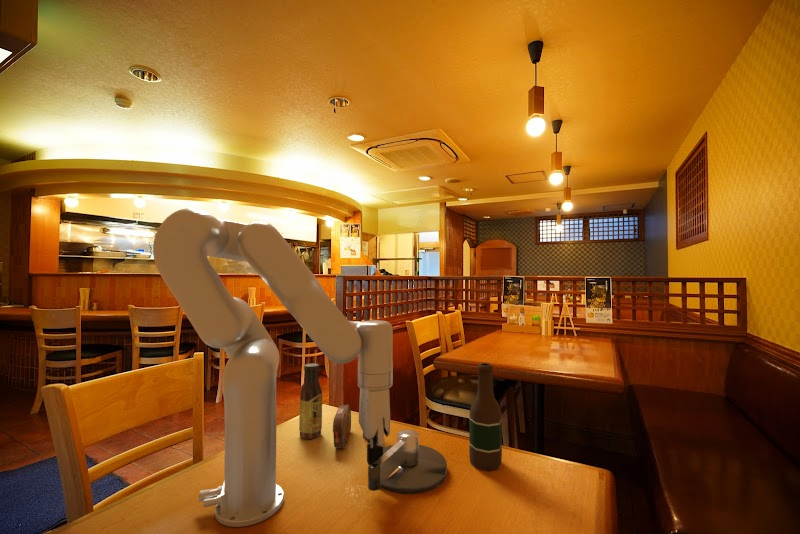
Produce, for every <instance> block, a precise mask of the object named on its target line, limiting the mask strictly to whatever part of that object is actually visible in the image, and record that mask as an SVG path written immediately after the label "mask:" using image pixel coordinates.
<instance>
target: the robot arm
mask: <svg viewBox="0 0 800 534" xmlns="http://www.w3.org/2000/svg"><path fill="white" fill-rule="evenodd" d="M152 253H153V260H154V264H155V267H156V269H157V271H158V273H159V275H160V276H161V278H162V280H163V282H164V284H165V285H166V286H167V288H168V289H169V291H170V293H171V294H172V296H173V297H174V298H175V300H176V302H177V303H178V305H179V307H180V309H181V310H182V311H183V313H184V315H185V316H186V318H187V319H188V321H189V322H190V324H191V326H192V327H193V329H194V330H195V333H196V334H197V335H198V336H199V339H201V341H202V342H203V343H204V344H205V345H206V346H209V347H210V348H213V349H223V350H224V352H225V353H226V355H227V356H228V357H229V359H228V360H227V362H226V364H225V366H224V370H223V373H222V382H221V383H222V393H223V405H224V406H223V407H224V409H223V410H224V467H223V468H224V473H223V474H224V481H223V484H222V485H218V486H217V488H209V489H202V490H199V492H198V503H202V502H203V503H202V504H203V505H202V507H203V508H207V507H212V506H215V507H214V516H215V519H216V521H218V523H220V524H222V525H223V526H227V527H234V528H239V527H242V528H243V527H248V526H253V525H256V524H259V523H261V522H263V521H265V520H267V519H269V518H271V516H272V517H273V515H274V514H276V512H278V511H279V510H280V508H281V507H282V506H283V503H284V499H285V492H284V490H283V488H282V487H281V486H280V485H278V484H277V375H278V369H279V364H280V353H279V349H278V347H277V345H276V343H275V342H274V340H273V339H272V337H271V336H270V334H269V332H268V331H267V329H266V327H265V326H264V323H262V321H261V320H260V318H259V317H258V314H257V313H256V312H255V310H254V309H253V307H252V306H251V305H250V304H249V303H248V302H246V300H243V299H242V298H239V297H235V296H233V295H232V294H231V293H230V291H229V289H228V288H227V286H226V285H225V284H224V282H223V280H222V278H221V277H220V275H219V273H218V272H217V271H216V269H215V268H214V267H213V266H212V265H211V263H210V260H209V258H208V257H210V258H211V257H212V258H219V259H224V260H225V259H227V260H232V261H239V262H246V263H248V265H250V267H251V268H252V269H253V270H254V271H255V273H257V275H258V276H259V277H260V279H262V281H263V282H264V283H265V285H267V287H268V288H269V289H270V291H272V292H273V294H274V295H275V297H276V298H277V299H278V300H279V302H280V303H281V304H282V305H283V307H284V308H285V309H286V310H287V311H288V313H289V314H290V315H291V316H292V317H293V318H294V320H295V321H296V322H297V323H298V325H300V327H301V328H302V329H303V330H304V331H305V333H306V334H307V336H308V337H309V338H310V339H311V340H312V341H313V343H314V344H315V345H316V346H317V347H318V349H319V350H320V351H321V352H322V353H323V355H324V356H325V357H326V358H327V359H328V360H329V361H331V362H333V363H335V364H339V365H341V364H342V365H343V364H349V363H350V362H353V361H354V360H355V359H356V358H357V387H358V389H359V401H358V403H359V404H358V423H359V427H360V429H361V430H362V434H363V433H364V435H365V436H366V438H367V439H366V438H365V439H366V441H367V442H366V443H367V444H366V462H367V464H368V465H367V466H369V465H370V464H373V463H374V462H376V461H377V460H378V459H379V458H380V457H381V456H382V455H383V448H384V446H385V437H389V436H390V433H391V406H390V404H391V403H390V400H391V399H390V398H391V397H390V388H391V387H393V382H394V381H393V377H394V376H393V366H394V365H393V359H394V358H393V353H394V352H393V349H394V347H393V343H394V341H393V340H394V339H393V338H394V337H393V335H394V334H393V333H394V331H393V325H392V323H390V321H386V320H382V319H381V320H379V319H376V320H375V319H374V320H364V321H354V320H348V319H347V317H346V315H344V314H343V312H342V311H341V310H340V309H339V307H338V306H337V305H336V304H335V302H334V301H333V300H332V299H331V297H330V296H329V295H328V294H327V292H326V291H325V289H324V288H323V286H322V285H321V283H320V281H319V280H318V279H317V277H316V276H315V274H314V273H313V272H312V270H310V268H309V267H308V265H306V263H305V262H304V261H303V260H302V258H301V257H300V256H299V255H298V254H297V252H296V251H295V250H294V249H293V247H292V246H291V245H290V244H289V243H288V241H287V240H286V239H285V238H284V237H283V235H282V234H281V233H280V231H279V230H278V229H276V227H275V226H273V225H272V223H271V224H270V223H268V222H266V221H261V220H260V221H259V220H257V221H252V222H249V223H242V222H236V221H233V220H227V219H222V218H221V219H220V218H217V217H215V216H214V215H212V214H210V213H208V212H206V211H204V210H201V209H197V208H183V209H179V210H175V211H174V212H172V213H171V214H170V215H168V216H167V217H166V218H165V219H164V220H163V222H162V223H161V224H160V225H159V227H158V229H157V231H156V233H155V235H154V239H153V245H152Z"/></svg>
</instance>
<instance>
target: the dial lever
mask: <svg viewBox="0 0 800 534" xmlns="http://www.w3.org/2000/svg"><path fill="white" fill-rule="evenodd" d="M396 437H397V438H396V439H397V442H396V443H395V444H393V445H394V446H393V447H391V448H390V449H389V450H388V451H387V452H386V453H385V454H383V455H382V456H381V457H380V458H379V459H378V460H377V461H376V462H374V463H373V464H370V465H367V489H368V490H369V491H372V492H375V491H379V490H380V489H381V487H380V485H381V484H382V483H383V482H384V481H385V480H386V479H387V478H388V477H389V476H390V475H391V474H392V473H393V472H394V471H395V470H396V469H397V468H398V467H399V466H400V465H404V466H413V465H415V464H417V463H418V462H419V445H420V443H419V442H420V438H419V437H420V433H419V432H418V431H415V430H413V429H402V430H400V431H398V432H397V435H396Z"/></svg>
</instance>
